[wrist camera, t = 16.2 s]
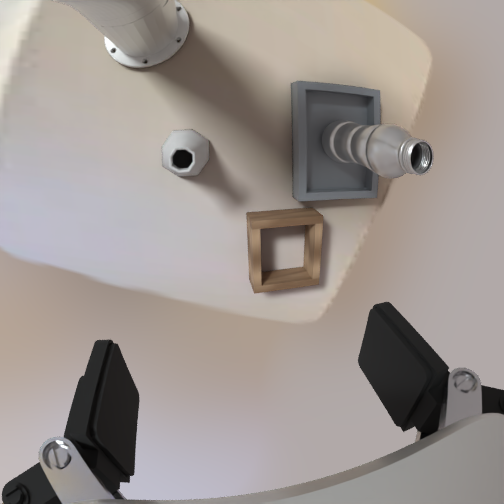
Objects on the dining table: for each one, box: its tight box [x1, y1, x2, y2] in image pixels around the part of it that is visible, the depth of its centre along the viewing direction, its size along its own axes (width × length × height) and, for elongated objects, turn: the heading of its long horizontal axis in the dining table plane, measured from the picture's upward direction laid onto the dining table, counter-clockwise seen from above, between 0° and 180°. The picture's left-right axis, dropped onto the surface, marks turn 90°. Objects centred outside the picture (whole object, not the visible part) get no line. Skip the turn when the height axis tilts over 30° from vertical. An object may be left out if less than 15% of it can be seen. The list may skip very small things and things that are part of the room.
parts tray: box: [291, 81, 380, 201], centre depth 42 cm, size 18×14×3 cm
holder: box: [247, 208, 323, 293], centre depth 47 cm, size 12×11×4 cm
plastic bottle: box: [322, 120, 434, 178], centre depth 34 cm, size 6×7×20 cm
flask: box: [162, 129, 209, 176], centre depth 36 cm, size 7×7×10 cm
